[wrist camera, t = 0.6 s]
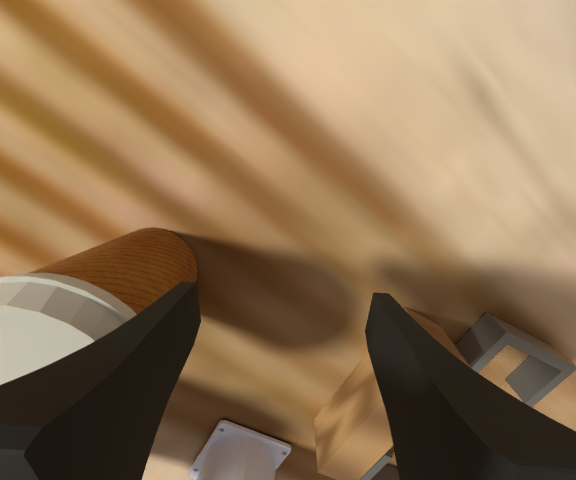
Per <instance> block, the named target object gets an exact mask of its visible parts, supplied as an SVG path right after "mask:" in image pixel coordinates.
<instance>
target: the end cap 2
mask: <svg viewBox="0 0 576 480" xmlns="http://www.w3.org/2000/svg"><path fill="white" fill-rule="evenodd" d="M507 344H509V345H511V346H513V347H515V348H517V349H519V350H521V351H523V352H525V353H527V354H529V355H530V356H529V357H528V358H527V359H526V360H525V361H524V362H523V363H522V364H521V365H520V366H519V367H518V368H517V369H515V370H514V371H513V372H512V373H511V374H510V375H509V376H508V377H507V378H506V379H505V380H506V381H507V383H508V384H509V385H510V386H511V387H512V389H513V390H514V391H515V392H516V393H517V395H518V396H519V397H520V398H521V399H522V401H523V402H524V403H525V404H527V405H529V406H531V407H533V406H534V405H535V404H537V403H538V402H539V401H540V400H541V399H542V398H544V397H545V396H546V395H547V394H548V393H549V392H551V391H552V390H553V389H554V388H555V387H556V386H558V385H559V384H560V383H561V382H562V381H563V380H565V379H566V378H567V377H568V376H569V375H570V374H571V373H573V372H574V371H575V370H576V366H575V365H574V364H572V363H571V362H570V361H569V360H568V359H566V358H565V357H564V356H563V355H562V354H561V353H559V352H558V351H557V350H556V349H555V348H554V347H552V346H551V345H549V344H547V343H545V342H543V341H541V340H539V339H537V338H535V337H534V336H532V335H530V334H528V333H526V332H524V331H522V330H520V329H518V328H516V327H514V326H512V325H510V324H508V323H506V322H504V321H502V320H501V319H499V318H497V317H495V316H493V315H491V314H489V313H487V312H486V313H485V314H484V315H483V316H482V317H481V318H480V319H479V320H478V321H477V323H476V324H475V325H474V326H473V327H472V328H471V329H470V330H469V331H468V332H467V333H466V334H465V335H464V337H463V338H462V339H461V340H460V341H459V342H458V343H457V344H456V345H455V347H456V348H457V350H458V351H459V352H460V354H461V355H462V356H463V358H464V359H465V360H466V362H467V363H468V365H469V366H470V367H471V368H472V369H473V370H474V371H476V372H477V373H478V372H479V371H480V370H481V369H482V368H483V367H484V366H485V365H486V364H487V363H488V362H489V361H490V360H491V359H492V358H493V357H494V356H495V355H496V354H497V353H498V352H500V351H501V350H502V349H503V348H504V347H505V346H506V345H507Z"/></svg>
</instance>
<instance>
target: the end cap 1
mask: <svg viewBox="0 0 576 480" xmlns="http://www.w3.org/2000/svg"><path fill="white" fill-rule="evenodd" d="M391 459H392V456H391V452H390V449H389V450H388V451H387V452H386V453H385V454H384V455H383V456H382V457H381V458H380V459H379V460H378V461H377V462H376V463H375V464H374V465H373V466H372V467H371V468H370V469H369V470H368V471H367V472H366V473H365V474H364V475H363V476H362V477H361V478H360V479H359V480H400V478H399V473H398V469H397V468H395V467H392V466H390V465H387V463H388V462H389V461H390V460H391Z"/></svg>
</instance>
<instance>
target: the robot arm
mask: <svg viewBox="0 0 576 480" xmlns="http://www.w3.org/2000/svg"><path fill="white" fill-rule="evenodd" d="M200 323H201V318H200V309H199V301H198V293H197V284H196V282H180V283H179V284H177V285H176V286H175V287H173V288H172V289H171V290H169V291H168V292H167V293H166V294H164V295H163V296H162V297H160V298H159V299H158V300H156V301H155V302H154V303H152V304H151V305H150V306H148V307H147V308H146V309H144V310H143V311H141V312H140V313H138V314H137V315H136V316H134V317H133V318H131V319H130V320H128V321H127V322H125V323H124V324H122V325H121V326H119V327H118V328H116V329H115V330H113V331H111V332H110V333H108V334H106V335H105V336H103V337H101V338H99V339H98V340H96V341H94V342H92V343H91V344H89V345H87V346H85V347H83V348H81V349H79V350H77V351H75V352H73V353H71V354H69V355H67V356H65V357H63V358H61V359H59V360H57V361H55V362H53V363H51V364H49V365H47V366H44V367H42V368H40V369H38V370H35V371H33V372H31V373H28V374H26V375H24V376H21V377H19V378H16V379H14V380H11V381H9V382H6V383H4V384H1V385H0V480H141V479H142V476H143V473H144V470H145V466H146V463H147V460H148V457H149V454H150V451H151V448H152V445H153V442H154V439H155V436H156V433H157V430H158V427H159V424H160V421H161V418H162V416H163V413H164V410H165V407H166V405H167V402H168V400H169V397H170V395H171V393H172V391H173V389H174V386H175V384H176V382H177V380H178V378H179V376H180V373H181V371H182V369H183V367H184V365H185V363H186V360H187V358H188V356H189V354H190V352H191V349H192V347H193V345H194V342H195V339H196V336H197V333H198V329H199V326H200ZM365 334H366V340H367V346H368V352H369V356H370V360H371V363H372V367H373V370H374V373H375V377H376V380H377V383H378V387H379V390H380V393H381V396H382V400H383V403H384V406H385V410H386V414H387V418H388V421H389V426H390V431H391V436H392V441H393V446H394V451H395V457H396V462H397V468H398V473H399V478H400V480H576V431H574V430H572V429H570V428H568V427H566V426H564V425H562V424H560V423H558V422H556V421H555V420H553V419H551V418H549V417H547V416H545V415H544V414H542V413H540V412H538V411H537V410H535V409H533V408H532V407H530V406H528V405H526V404H525V403H523V402H521V401H520V400H518V399H516V398H515V397H513V396H512V395H510V394H508V393H507V392H505V391H504V390H502V389H501V388H499V387H498V386H496V385H495V384H493V383H492V382H490V381H489V380H487V379H486V378H484V377H483V376H481V375H480V374H478V373H477V372H476V371H474V370H473V369H472V368H470V367H469V366H468V365H466V364H465V363H464V362H462V361H461V360H460V359H458V358H457V357H456V356H455V355H453V354H452V353H451V352H450V351H448V350H447V349H446V348H445V347H444V346H443V345H441V344H440V343H439V342H438V341H437V340H436V339H434V338H433V337H432V336H431V335H430V334H429V333H428V332H427V331H426V330H425V329H424V328H423V327H421V326H420V325H419V324H418V323H417V322H416V321H415V320H414V319H413V318H412V317H411V316H410V315H409V314H408V313H407V312H406V311H405V310H404V309H403V308H402V307H401V306H400V305H399V304H398V303H397V301H396V300H395V299H394V298H393V297H392V296H390V295H389V294H387V293H373V297H372V301H371V306H370V311H369V315H368V320H367V325H366V329H365ZM290 452H291V445H290V444H287V443H285V442H282V441H279V440H277V439H274V438H272V437H269V436H266V435H264V434H261V433H258V432H256V431H253V430H250V429H248V428H245V427H242V426H240V425H237V424H234V423H232V422H229V421H227V420H221V421H220V422H219V424H218V425H217V427H216V428H215V430H214V431H213V433H212V435H211V436H210V438H209V439H208V441H207V443H206V444H205V446H204V447H203V449H202V451H201V452H200V454H199V455H198V457H197V459H196V460H195V462H194V463H193V465H192V467H191V468H190V470H189V472H188V476H189V477H191V478H194V479H196V480H275V471H276V470H277V468H278V467H279V466H280V465H281V463H282V462H283V461H284V460H285V458H286V457H287V456H288V455H289V453H290Z"/></svg>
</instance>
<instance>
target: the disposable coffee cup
mask: <svg viewBox="0 0 576 480" xmlns="http://www.w3.org/2000/svg"><path fill="white" fill-rule="evenodd" d="M197 275H198V264H197V259H196V257H195V254H194V252H193V251H192V249H191V248H190V246H189V245H188V244H187V243H186V242H185V241H184V240H183V239H181V238H180V237H179V236H177V235H176V234H174V233H172V232H170V231H167V230H163V229H159V228H144V229H140V230H137V231H135V232H132V233H129V234H127V235H124V236H121V237H119V238H116V239H114V240H112V241H109V242H106V243H104V244H101V245H98V246H96V247H94V248H91V249H89V250H86V251H84V252H81V253H79V254H76V255H74V256H71V257H69V258H66V259H63V260H60V261H58V262H56V263H53V264H51V265H48V266H46V267H43V268H40V269H38V270H35V271H33V272H30V273H23V274H16V275H8V276H1V277H0V385H1V384H4V383H6V382H9V381H11V380H14V379H16V378H19V377H21V376H24V375H26V374H28V373H31V372H33V371H35V370H38V369H40V368H42V367H44V366H47V365H49V364H51V363H53V362H55V361H57V360H59V359H61V358H63V357H65V356H67V355H69V354H71V353H73V352H75V351H77V350H79V349H81V348H83V347H85V346H87V345H89V344H91V343H92V342H94V341H96V340H98V339H99V338H101V337H103V336H105V335H106V334H108V333H110V332H111V331H113V330H115V329H116V328H118V327H119V326H121V325H122V324H124V323H125V322H127V321H128V320H130V319H131V318H133V317H134V316H136V315H137V314H138V313H140V312H141V311H143V310H144V309H146V308H147V307H148V306H150V305H151V304H152V303H154V302H155V301H156V300H158V299H159V298H160V297H162V296H163V295H164V294H166V293H167V292H168V291H169V290H171V289H172V288H173V287H175V286H176V285H177V284H179V283H180V282H196V280H197Z"/></svg>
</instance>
